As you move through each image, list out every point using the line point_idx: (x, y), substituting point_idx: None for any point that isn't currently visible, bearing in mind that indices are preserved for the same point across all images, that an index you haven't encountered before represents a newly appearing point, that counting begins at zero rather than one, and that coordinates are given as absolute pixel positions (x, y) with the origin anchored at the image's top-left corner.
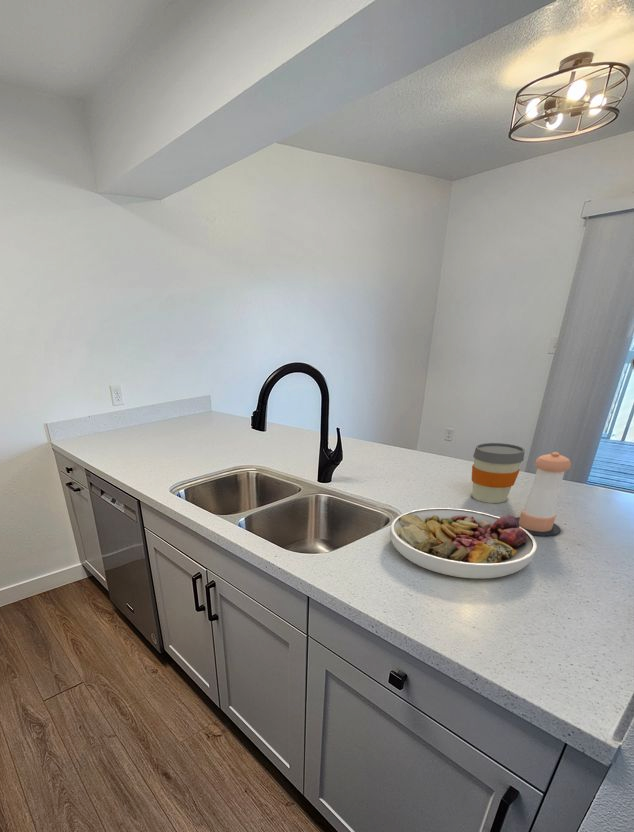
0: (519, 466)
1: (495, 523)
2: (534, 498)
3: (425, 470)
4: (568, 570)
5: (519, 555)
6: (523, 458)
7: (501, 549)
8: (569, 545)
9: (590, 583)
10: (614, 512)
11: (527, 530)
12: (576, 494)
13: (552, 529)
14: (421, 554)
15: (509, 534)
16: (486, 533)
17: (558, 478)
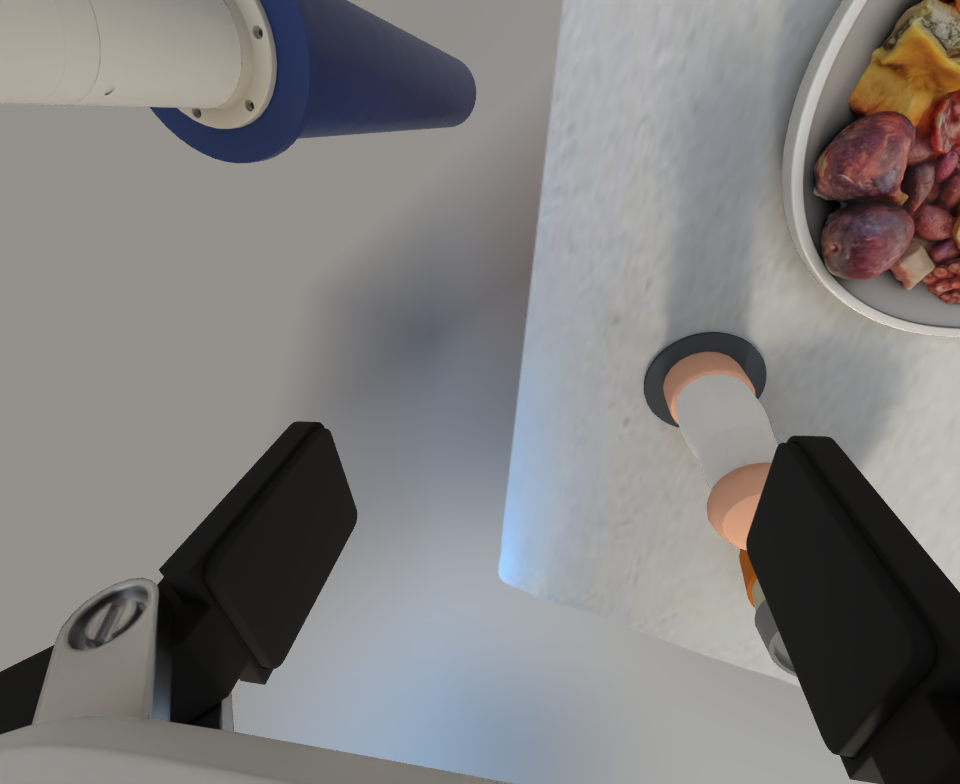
0: (756, 591)
1: (914, 227)
2: (759, 410)
3: None
4: (669, 143)
5: (866, 36)
6: (761, 612)
7: (944, 24)
8: (637, 307)
9: (628, 84)
10: (523, 503)
11: (728, 349)
12: (578, 565)
13: (663, 377)
14: None
15: (904, 128)
16: (920, 203)
17: (730, 456)
